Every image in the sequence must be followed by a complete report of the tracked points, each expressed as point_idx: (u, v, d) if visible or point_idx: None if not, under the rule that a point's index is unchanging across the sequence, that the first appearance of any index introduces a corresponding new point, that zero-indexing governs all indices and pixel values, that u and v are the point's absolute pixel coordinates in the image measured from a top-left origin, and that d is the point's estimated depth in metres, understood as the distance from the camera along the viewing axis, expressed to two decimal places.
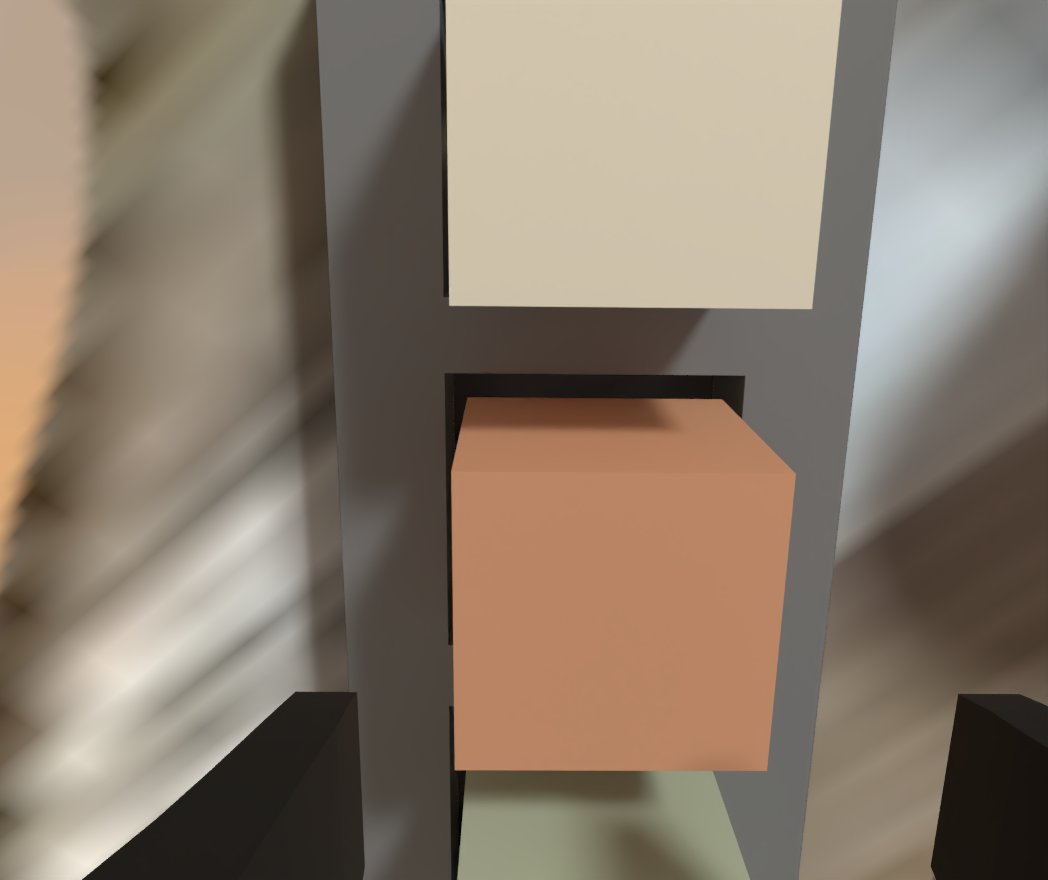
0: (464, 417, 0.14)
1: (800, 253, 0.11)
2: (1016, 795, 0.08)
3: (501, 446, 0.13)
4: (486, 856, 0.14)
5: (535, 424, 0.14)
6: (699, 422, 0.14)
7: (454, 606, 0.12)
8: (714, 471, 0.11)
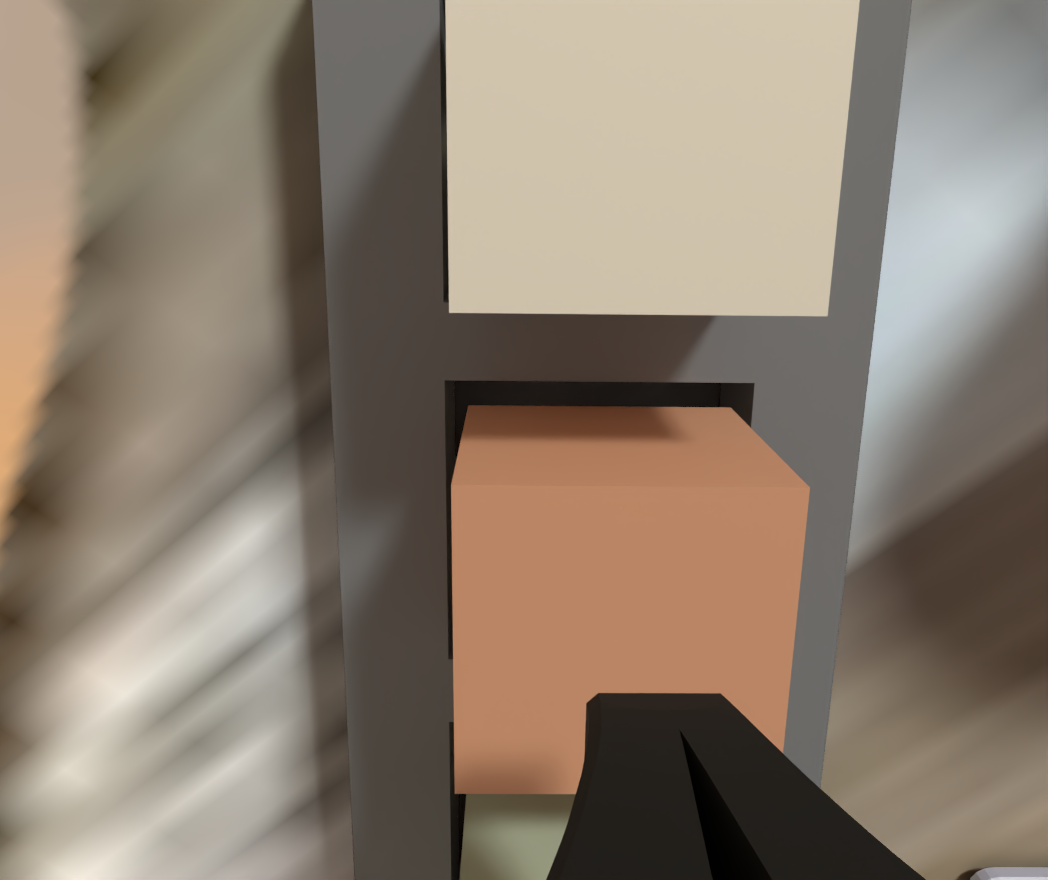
0: (465, 426, 0.14)
1: (815, 258, 0.10)
2: None
3: (503, 457, 0.12)
4: None
5: (538, 433, 0.13)
6: (707, 432, 0.13)
7: (454, 624, 0.11)
8: (725, 485, 0.11)
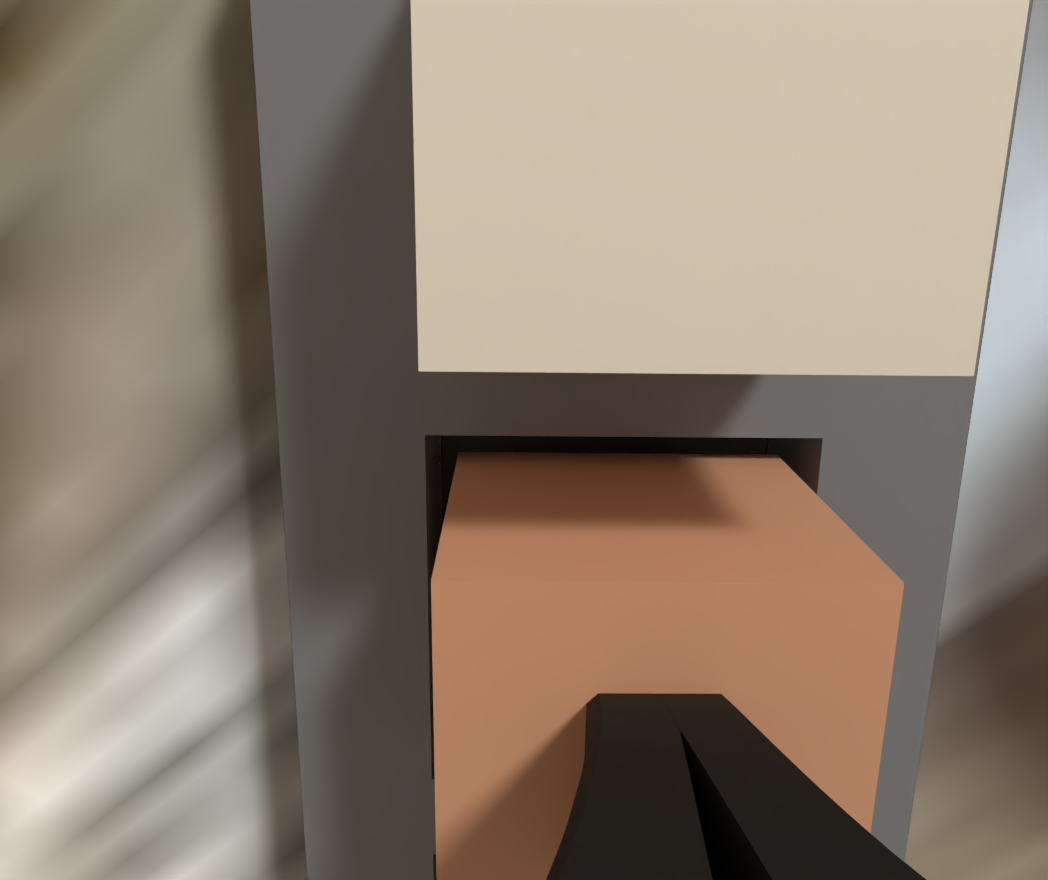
0: (453, 484, 0.11)
1: (960, 291, 0.07)
2: None
3: (501, 534, 0.09)
4: None
5: (544, 495, 0.11)
6: (755, 492, 0.11)
7: (436, 756, 0.09)
8: (792, 578, 0.08)
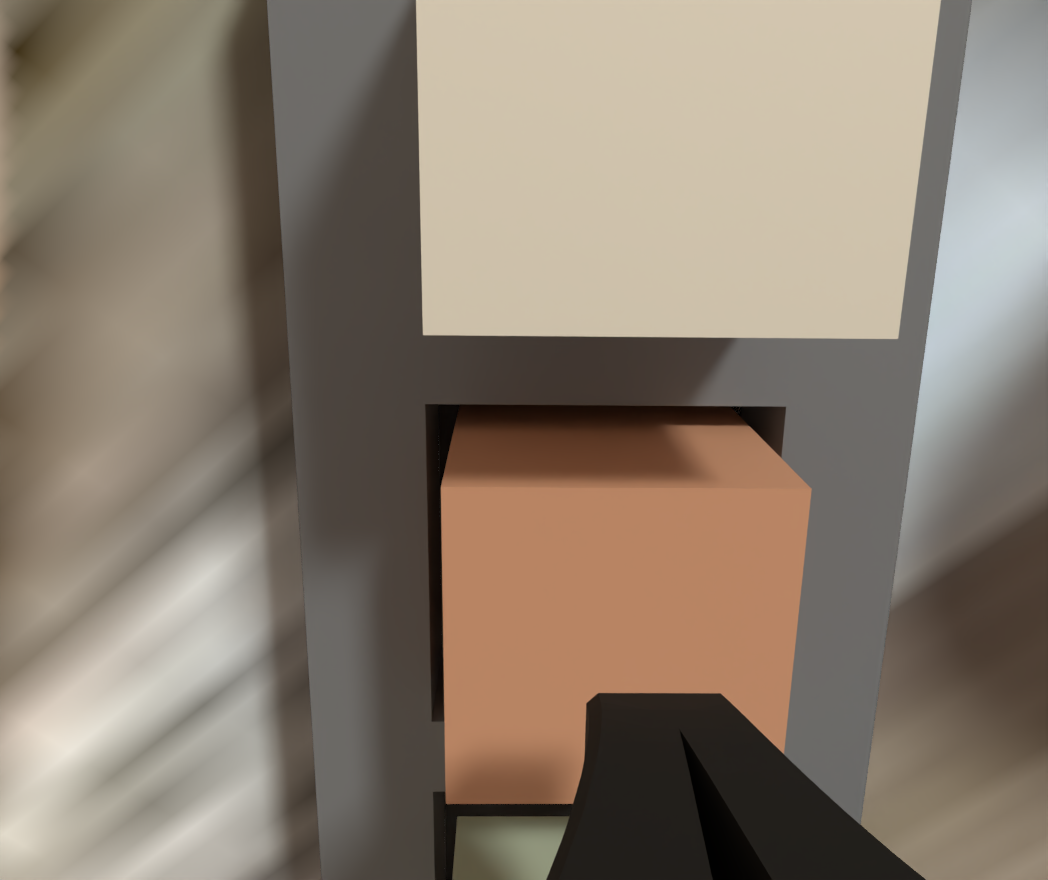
0: (456, 425, 0.13)
1: (884, 266, 0.08)
2: None
3: (495, 457, 0.12)
4: None
5: (530, 433, 0.13)
6: (705, 430, 0.13)
7: (445, 630, 0.11)
8: (723, 486, 0.11)
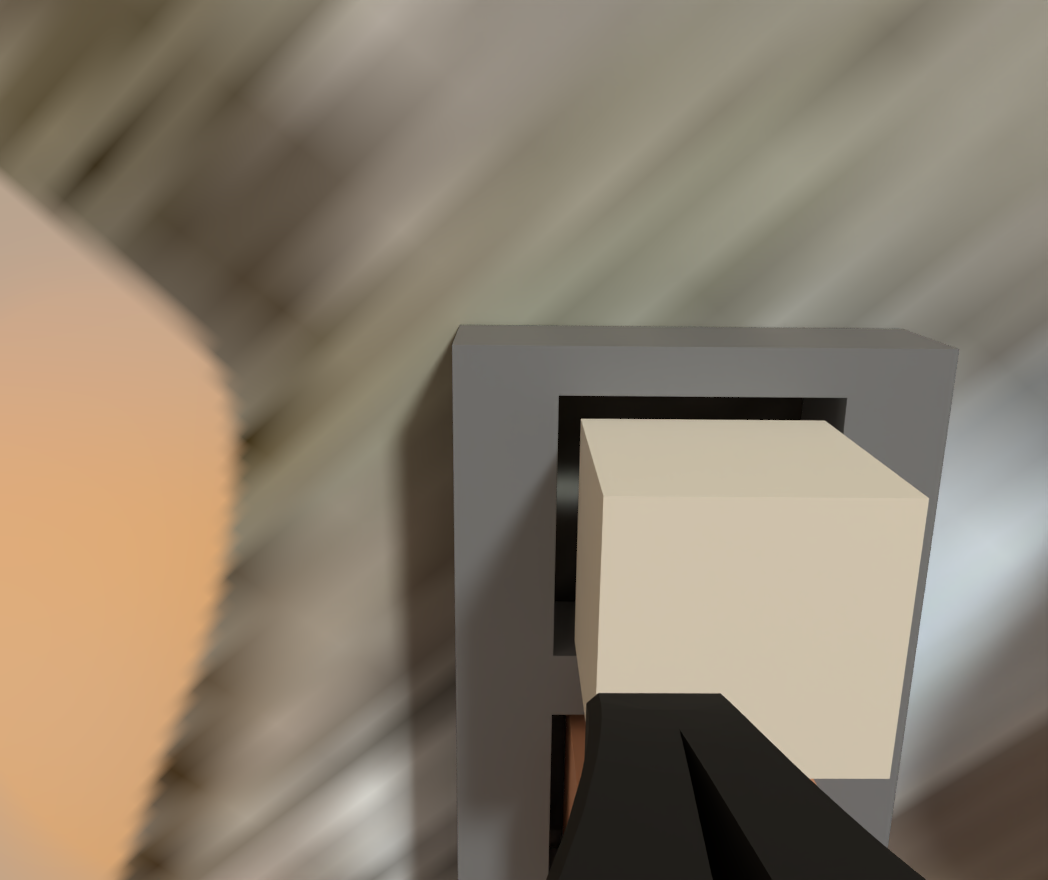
0: (571, 722, 0.18)
1: (881, 739, 0.13)
2: None
3: None
4: None
5: None
6: None
7: None
8: None
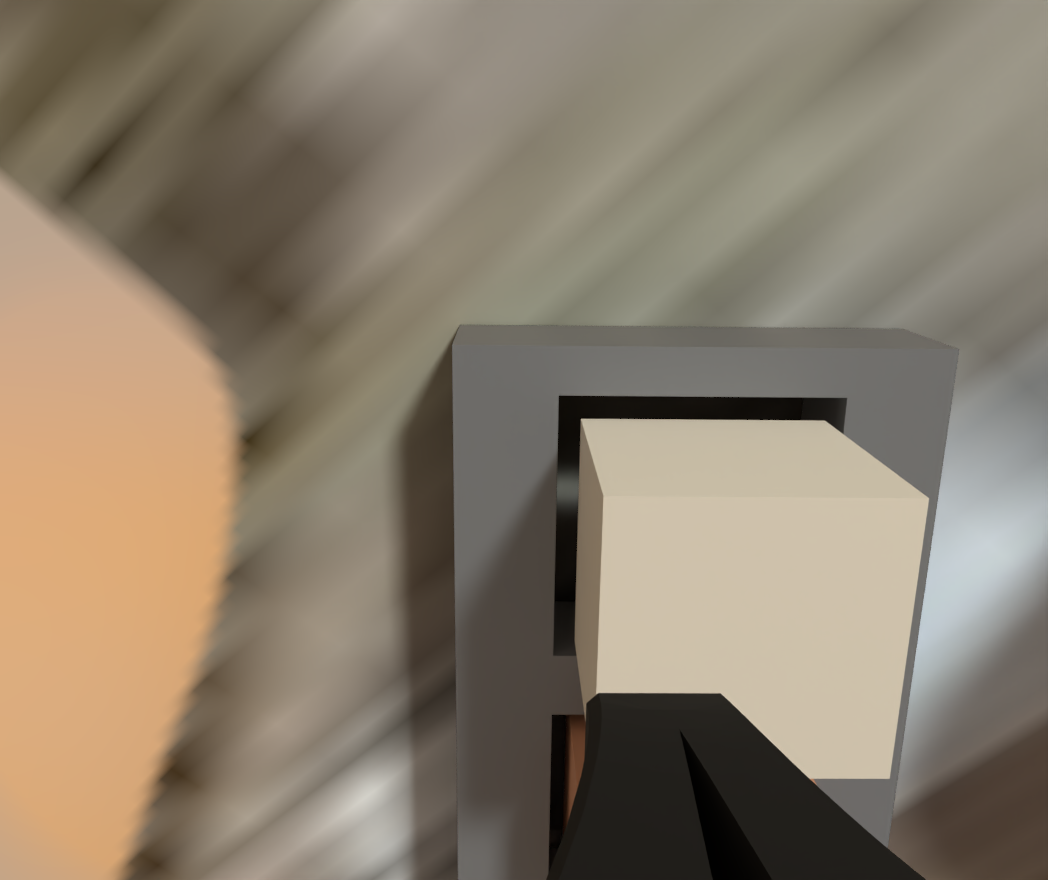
0: (571, 722, 0.18)
1: (881, 739, 0.13)
2: None
3: None
4: None
5: None
6: None
7: None
8: None
